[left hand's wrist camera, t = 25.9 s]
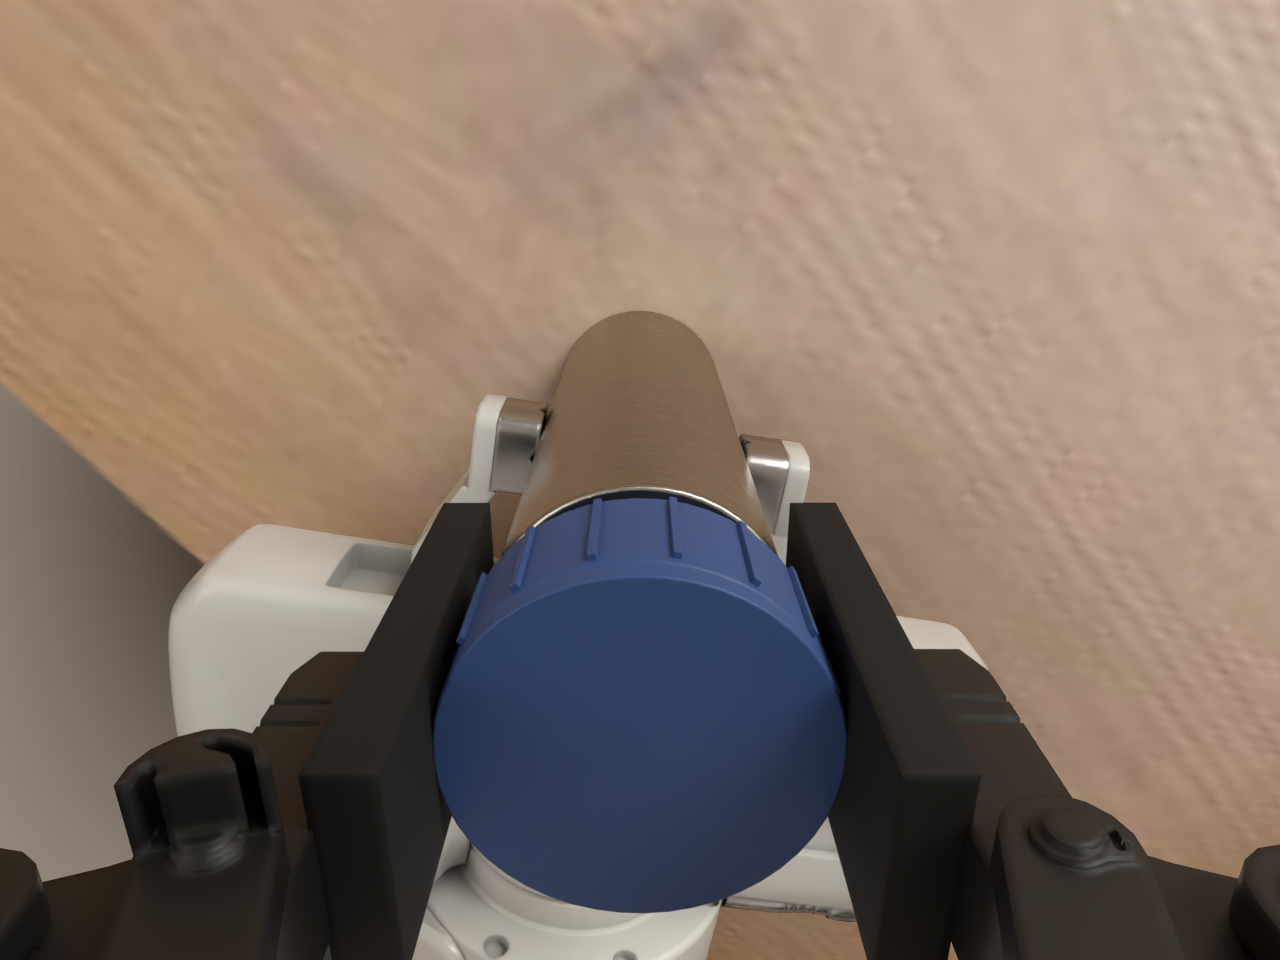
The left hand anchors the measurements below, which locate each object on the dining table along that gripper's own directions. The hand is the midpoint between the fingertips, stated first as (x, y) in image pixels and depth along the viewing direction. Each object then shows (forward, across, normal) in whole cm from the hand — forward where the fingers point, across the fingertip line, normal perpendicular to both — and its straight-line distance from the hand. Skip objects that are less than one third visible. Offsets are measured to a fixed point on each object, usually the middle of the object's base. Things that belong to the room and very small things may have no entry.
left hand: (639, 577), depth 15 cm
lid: (-4, 0, 0) cm, 4 cm away
